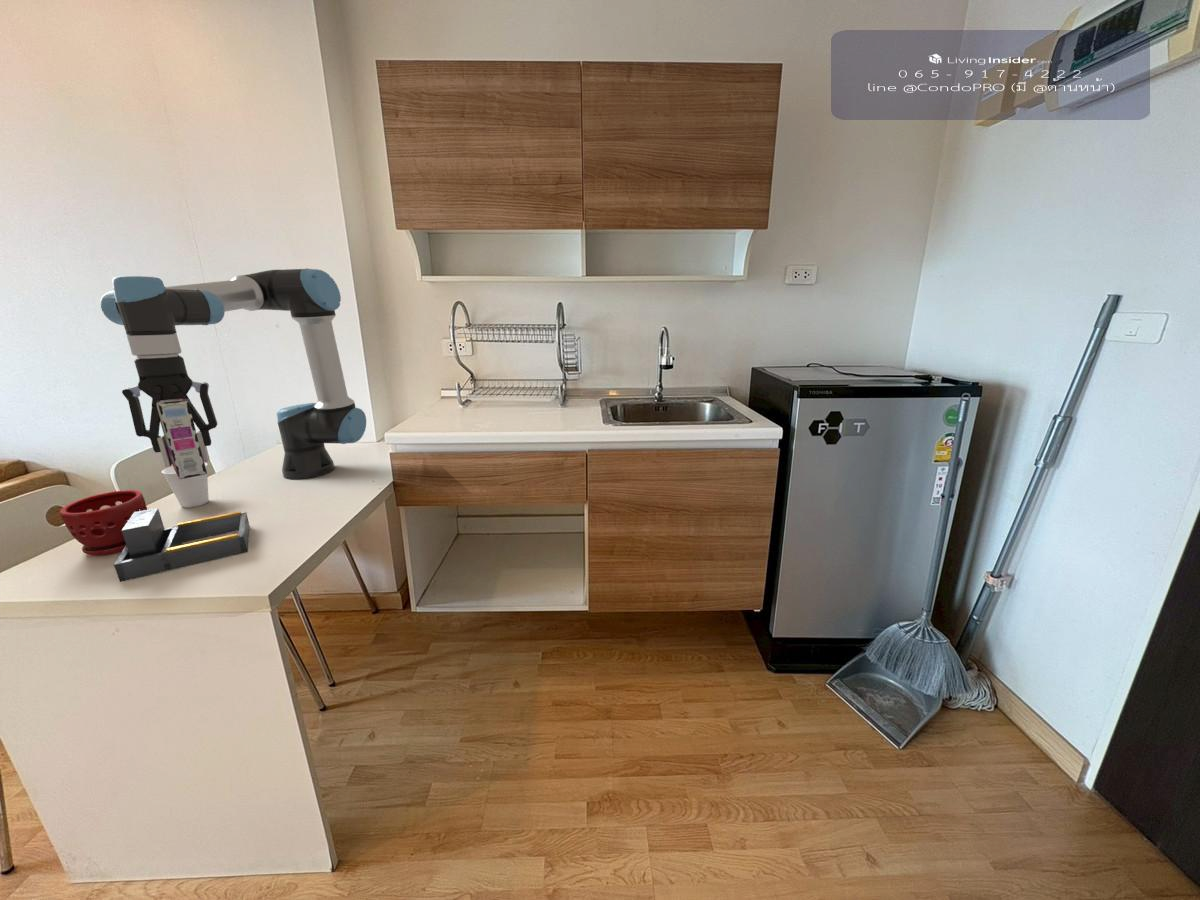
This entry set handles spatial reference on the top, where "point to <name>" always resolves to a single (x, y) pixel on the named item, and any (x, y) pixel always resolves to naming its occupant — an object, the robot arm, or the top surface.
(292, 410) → the robot arm
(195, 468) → the candy bar box
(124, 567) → the tray
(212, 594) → the top surface
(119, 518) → the plant pot
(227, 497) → the top surface
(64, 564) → the top surface
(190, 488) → the cup
